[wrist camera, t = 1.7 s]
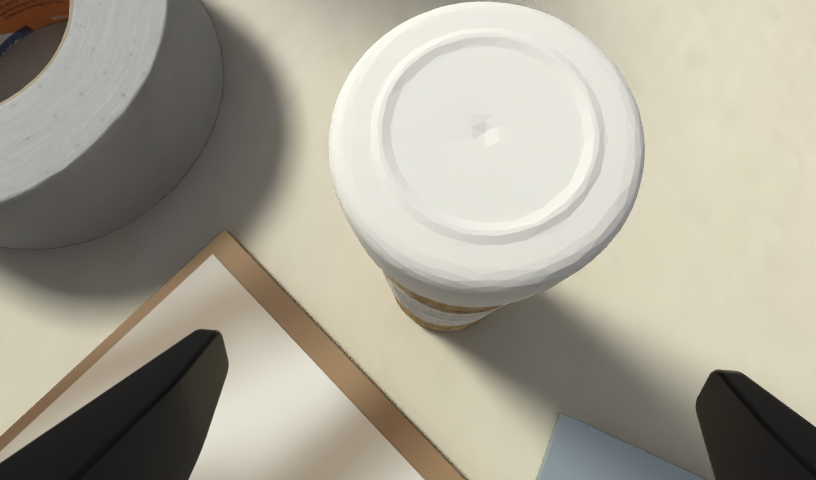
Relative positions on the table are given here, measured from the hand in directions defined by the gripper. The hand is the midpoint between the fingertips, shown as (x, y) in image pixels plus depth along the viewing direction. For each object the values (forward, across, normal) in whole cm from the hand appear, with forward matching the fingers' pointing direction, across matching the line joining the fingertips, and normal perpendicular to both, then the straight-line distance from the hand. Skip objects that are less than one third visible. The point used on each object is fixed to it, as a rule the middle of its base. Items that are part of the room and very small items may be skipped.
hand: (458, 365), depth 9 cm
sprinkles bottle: (+10, 0, +5) cm, 11 cm away
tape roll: (+15, +18, 0) cm, 24 cm away
